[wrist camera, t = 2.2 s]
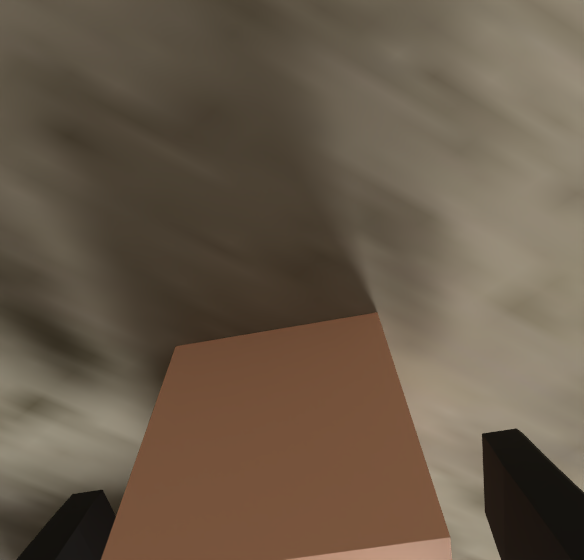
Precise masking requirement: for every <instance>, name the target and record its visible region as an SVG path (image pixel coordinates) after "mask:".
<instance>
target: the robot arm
mask: <svg viewBox="0 0 584 560" xmlns="http://www.w3.org/2000/svg"><path fill="white" fill-rule="evenodd" d="M482 445H483V472H484V498H485V513H486V516H487V519H488V522H489V525H490V528H491V531H492V534H493V537H494V540H495V543H496V546H497V549H498V552H499V555H500V557H501V560H584V492H583V491H582V490H581V489H580V488H579V487H577V486H576V485H575V484H574V483H573V482H572V481H571V480H570V479H569V478H568V477H567V476H566V475H565V474H564V473H563V472H562V471H561V470H559V469H558V468H557V467H556V466H555V465H554V464H553V463H552V462H551V461H550V460H549V459H548V458H547V457H546V456H545V455H544V454H543V453H542V452H541V451H540V450H539V449H538V448H537V447H536V446H535V445H534V444H533V443H532V442H531V441H530V440H529V439H528V438H527V437H526V436H525V435H524V434H523V433H522V432H520V431H519V430H518V429H510V430H504V431H497V432H490V433H483V434H482ZM115 518H116V516H115V514H114V512H113V510H112V508H111V506H110V504H109V502H108V500H107V498H106V496H105V494H104V492H103V490H98V491H91V492H84V493H77V494H72V495H71V497H70V498H69V499H68V500H67V501H66V502H65V503H64V504H63V505H62V507H61V508H60V509H59V510H58V511H57V512H56V514H55V515H54V516H53V517H52V518H51V519H50V521H49V522H48V523H47V524H46V525H45V526H44V528H43V529H42V530H41V531H40V532H39V534H38V535H37V536H36V537H35V538H34V540H33V541H32V542H31V543H30V544H29V545H28V547H27V548H26V549H25V550H24V551H23V553H22V554H21V555H20V556H19V557H18V559H17V560H101V558H102V555H103V552H104V549H105V547H106V544H107V541H108V538H109V535H110V532H111V529H112V527H113V524H114V521H115Z"/></svg>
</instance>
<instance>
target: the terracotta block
mask: <svg viewBox="0 0 584 560" xmlns="http://www.w3.org/2000/svg"><path fill="white" fill-rule="evenodd" d="M101 560H452V553H451V540H450V535H449V532H448V529H447V526H446V523H445V520H444V516H443V513H442V510H441V507H440V504H439V501H438V498H437V495H436V492H435V489H434V486H433V483H432V479H431V476H430V473H429V470H428V467H427V464H426V461H425V458H424V455H423V452H422V449H421V446H420V442H419V439H418V436H417V433H416V430H415V427H414V424H413V421H412V418H411V415H410V412H409V409H408V406H407V402H406V399H405V396H404V393H403V390H402V387H401V384H400V381H399V378H398V375H397V372H396V369H395V365H394V362H393V359H392V356H391V353H390V350H389V347H388V344H387V341H386V338H385V335H384V332H383V328H382V325H381V322H380V319H379V316H378V313H377V312H376V313H371V314H365V315H359V316H353V317H347V318H341V319H335V320H329V321H323V322H317V323H311V324H305V325H299V326H293V327H287V328H281V329H275V330H270V331H264V332H258V333H252V334H246V335H240V336H234V337H228V338H222V339H216V340H210V341H204V342H198V343H192V344H186V345H180V346H176V347H175V350H174V352H173V355H172V358H171V361H170V364H169V367H168V370H167V372H166V375H165V378H164V381H163V384H162V387H161V389H160V392H159V395H158V398H157V401H156V404H155V407H154V409H153V412H152V415H151V418H150V421H149V424H148V427H147V429H146V432H145V435H144V438H143V441H142V444H141V447H140V449H139V452H138V455H137V458H136V461H135V464H134V467H133V469H132V472H131V475H130V478H129V481H128V484H127V487H126V489H125V492H124V495H123V498H122V501H121V504H120V507H119V509H118V512H117V515H116V518H115V521H114V524H113V527H112V529H111V532H110V535H109V538H108V541H107V544H106V547H105V549H104V552H103V555H102V558H101Z"/></svg>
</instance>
